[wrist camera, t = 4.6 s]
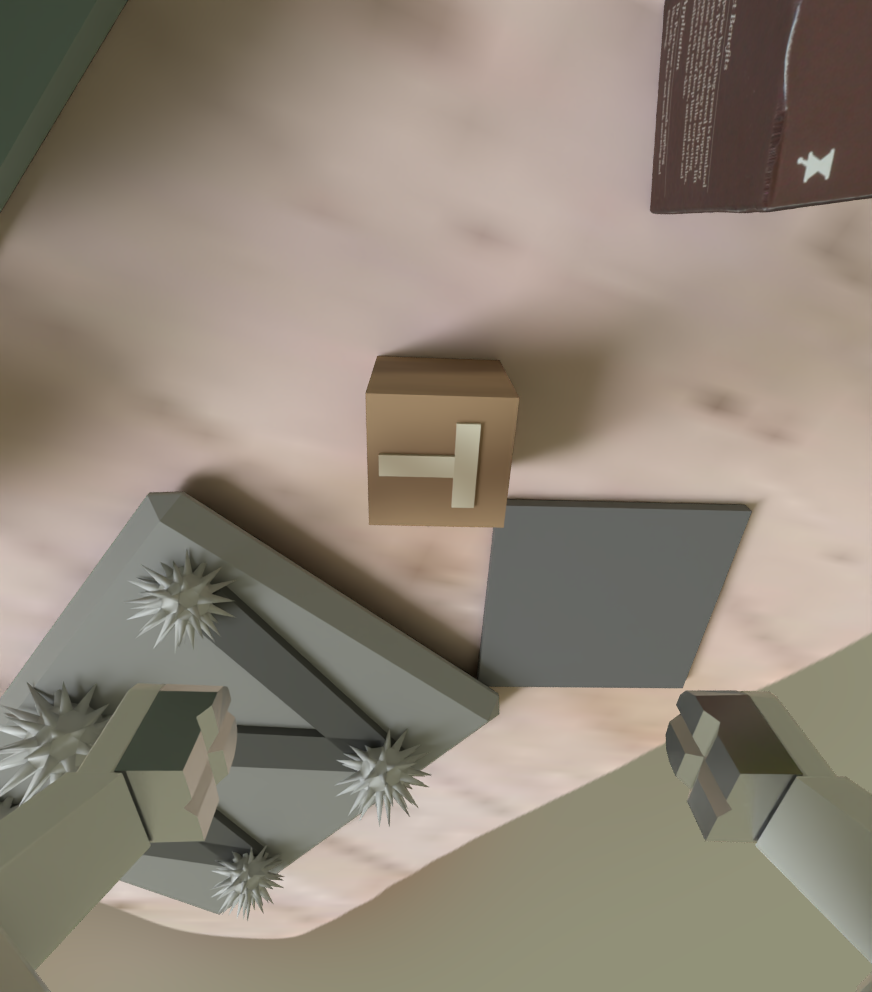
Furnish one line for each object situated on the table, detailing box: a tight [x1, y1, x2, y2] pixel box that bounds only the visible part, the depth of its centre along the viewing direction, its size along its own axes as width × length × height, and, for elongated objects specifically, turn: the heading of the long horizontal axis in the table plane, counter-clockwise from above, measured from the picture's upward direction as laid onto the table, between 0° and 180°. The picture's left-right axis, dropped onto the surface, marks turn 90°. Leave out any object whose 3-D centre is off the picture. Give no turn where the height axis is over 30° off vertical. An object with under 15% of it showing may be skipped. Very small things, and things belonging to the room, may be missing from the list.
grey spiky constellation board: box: [0, 492, 499, 921], centre depth 28 cm, size 30×22×7 cm
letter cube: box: [366, 356, 519, 528], centre depth 20 cm, size 5×5×5 cm
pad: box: [477, 499, 752, 688], centre depth 27 cm, size 12×12×1 cm
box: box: [650, 0, 872, 214], centre depth 14 cm, size 6×6×7 cm
